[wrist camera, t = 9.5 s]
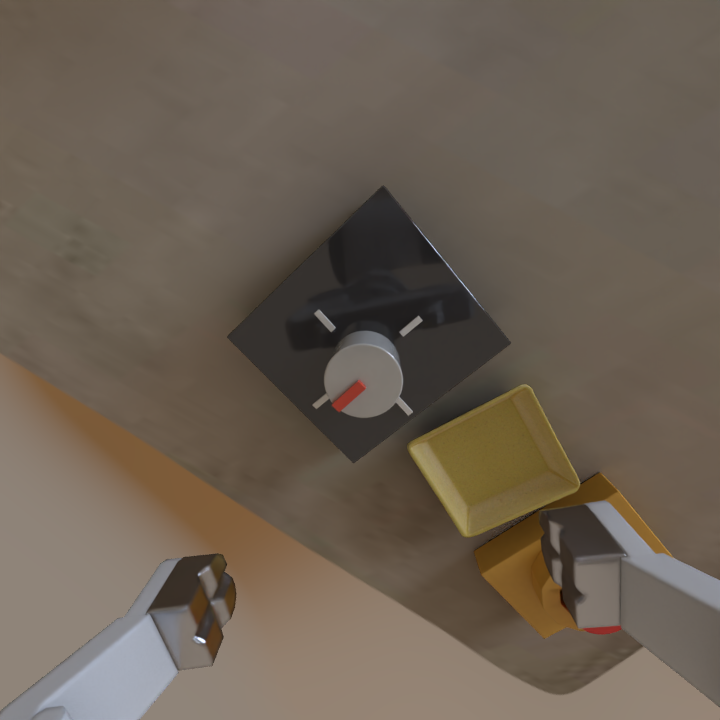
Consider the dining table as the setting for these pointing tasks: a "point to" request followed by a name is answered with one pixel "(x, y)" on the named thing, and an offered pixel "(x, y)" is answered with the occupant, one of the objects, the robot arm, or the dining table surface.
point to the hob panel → (370, 322)
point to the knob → (364, 375)
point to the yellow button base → (527, 566)
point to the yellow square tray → (495, 462)
